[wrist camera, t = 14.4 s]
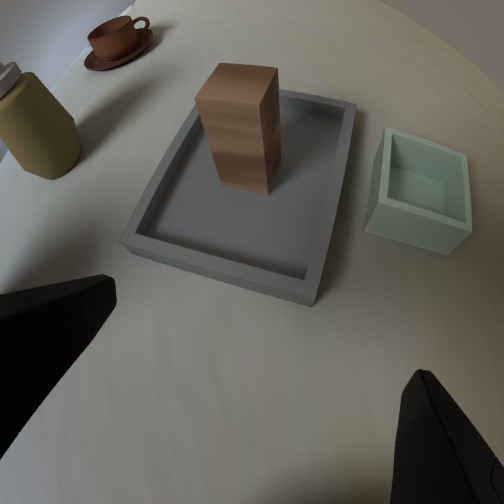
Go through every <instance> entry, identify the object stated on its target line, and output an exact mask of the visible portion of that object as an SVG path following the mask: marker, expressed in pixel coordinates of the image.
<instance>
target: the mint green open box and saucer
mask: <svg viewBox="0 0 504 504" xmlns="http://www.w3.org/2000/svg"><path fill="white" fill-rule="evenodd" d="M140 20H143V21H145V22H146V25H145V27H144V28H139V29H135V28H134V24H135V23H136V22H138V21H140ZM149 25H150V22H149V19H148V18H146V17H138V18H136V19H134V20H133V21H132V19H131V17H130V16H120V17H117V18H114V19H112V20H109V21H107V22H105V23H103V24H101V25H100V26H98V27H97V28H95V29H94V30H93V31H92V32H91V33H90V34H89V35H88V40H89V42H90V44H91V46H92V48H93V51H92V52H91V53H90V54H89V55H88V56H87V58H86V59H85V62H84V65H85V67H86V68H87V69H88V70H93V71H101V70H106V69H110V68H113V67H116V66H118V65H121V64H123V63H125V62H127V61H128V60H130V59H132V58H134V57H135V56H137V55H138V54H139V53H141V52H142V51H143V50H144V49H145V48H146V47H147V46H148V45H149V43H150V42H151V40H152V37H153V33H152V31H151V30H149V29H148V27H149Z"/></svg>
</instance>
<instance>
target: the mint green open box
mask: <svg viewBox="0 0 504 504" xmlns="http://www.w3.org/2000/svg"><path fill="white" fill-rule="evenodd" d="M364 232H365V233H369V234H372V235H376V236H379V237H383V238H387V239H390V240H394V241H397V242H401V243H404V244H407V245H411V246H414V247H418V248H421V249H424V250H428V251H431V252H434V253H437V254H441V255H444V256H447V255H448V254H450V253H451V252H452V251H453V250H454V249H455V248H456V247H457V246H459V245H460V244H461V243H462V242H463V241H464V240H465V239H466V238H467V237H468V236H469V235H471V234H472V208H471V193H470V182H469V173H468V164H467V157H466V154H464V153H461V152H459V151H456V150H453V149H451V148H448V147H445V146H443V145H440V144H437V143H434V142H432V141H429V140H426V139H423V138H420V137H417V136H414V135H411V134H408V133H404V132H401V131H398V130H395V129H391V128H388V127H385V129H384V132H383V135H382V138H381V141H380V144H379V147H378V150H377V153H376V156H375V159H374V164H373V172H372V180H371V188H370V195H369V202H368V208H367V214H366V221H365V226H364Z"/></svg>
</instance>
